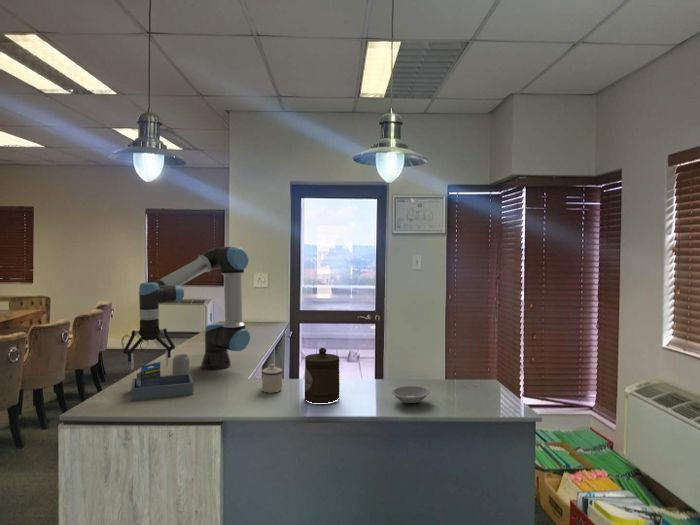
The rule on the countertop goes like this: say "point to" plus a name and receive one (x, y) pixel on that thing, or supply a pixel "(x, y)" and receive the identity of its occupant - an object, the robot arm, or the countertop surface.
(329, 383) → the wooden container
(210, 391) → the countertop surface
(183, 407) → the countertop surface
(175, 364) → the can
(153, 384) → the blue retail box
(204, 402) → the countertop surface
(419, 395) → the dish
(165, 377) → the tote
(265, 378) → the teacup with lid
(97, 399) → the countertop surface
